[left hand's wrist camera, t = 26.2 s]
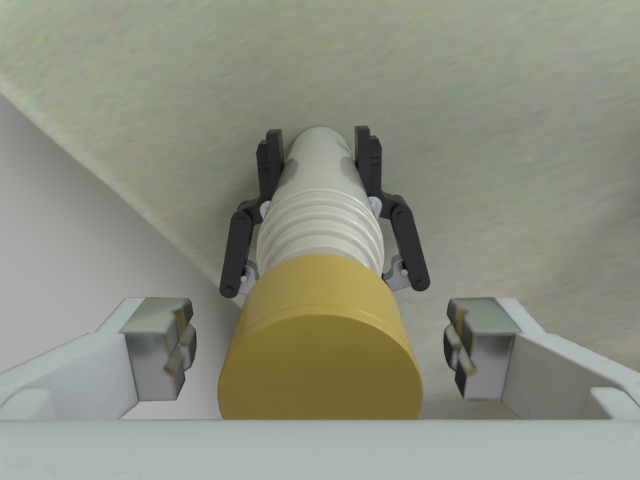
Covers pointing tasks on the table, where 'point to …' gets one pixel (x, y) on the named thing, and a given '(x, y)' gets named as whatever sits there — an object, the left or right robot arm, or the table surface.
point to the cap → (320, 347)
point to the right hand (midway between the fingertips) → (317, 130)
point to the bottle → (320, 207)
